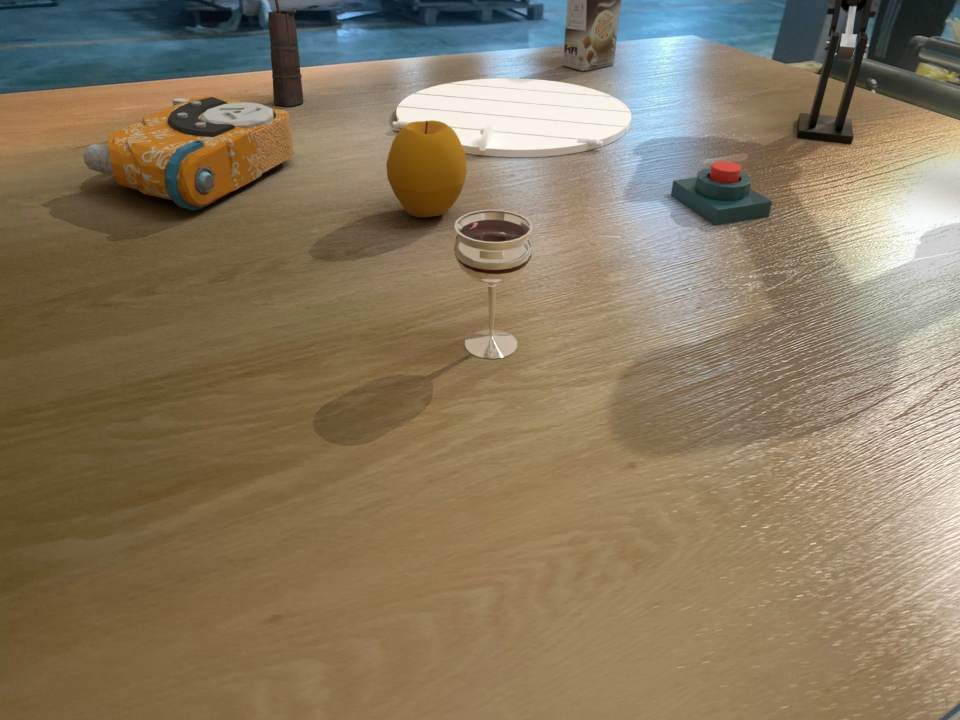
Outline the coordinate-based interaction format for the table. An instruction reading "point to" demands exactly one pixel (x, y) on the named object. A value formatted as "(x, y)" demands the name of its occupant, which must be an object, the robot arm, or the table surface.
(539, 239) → the table surface
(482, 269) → the wineglass
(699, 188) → the panel
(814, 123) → the bracket
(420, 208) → the apple
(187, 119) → the device
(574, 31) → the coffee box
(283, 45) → the butter churn
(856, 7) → the lever
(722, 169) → the button
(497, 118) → the lazy susan
